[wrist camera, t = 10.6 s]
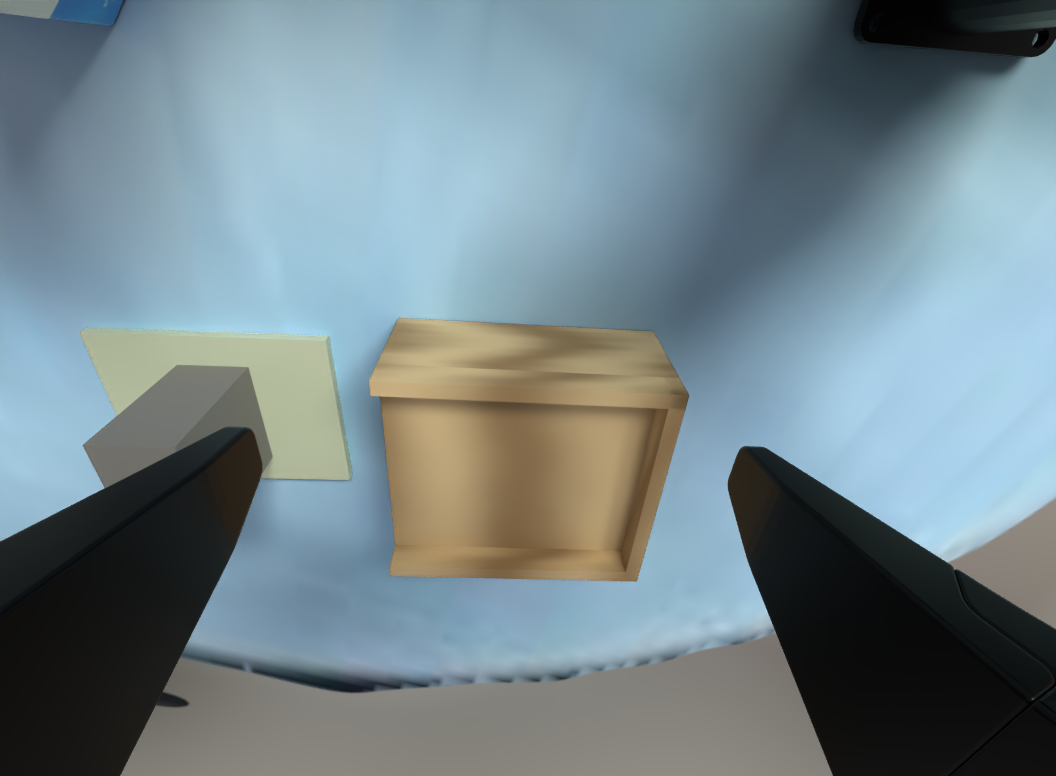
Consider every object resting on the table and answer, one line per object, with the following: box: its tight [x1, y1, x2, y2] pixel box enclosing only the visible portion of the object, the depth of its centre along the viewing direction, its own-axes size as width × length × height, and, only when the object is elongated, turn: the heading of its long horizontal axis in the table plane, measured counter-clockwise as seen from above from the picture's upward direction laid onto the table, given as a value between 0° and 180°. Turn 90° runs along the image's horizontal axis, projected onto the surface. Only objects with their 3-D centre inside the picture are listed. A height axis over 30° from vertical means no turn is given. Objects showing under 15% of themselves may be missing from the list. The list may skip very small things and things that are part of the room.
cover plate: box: [79, 327, 352, 488], centre depth 21 cm, size 10×8×6 cm
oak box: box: [369, 318, 689, 581], centre depth 22 cm, size 11×10×5 cm
